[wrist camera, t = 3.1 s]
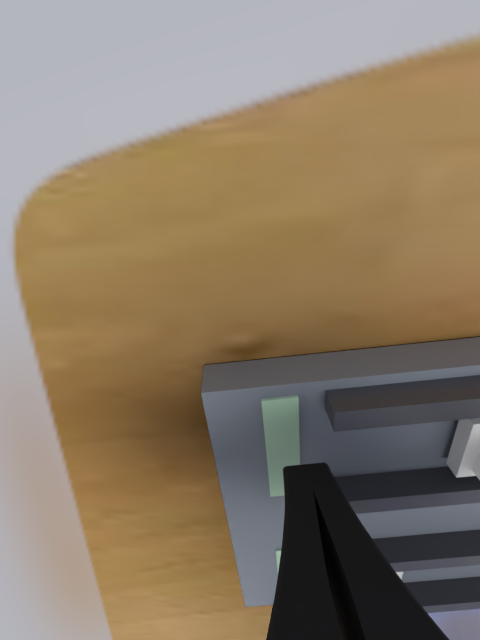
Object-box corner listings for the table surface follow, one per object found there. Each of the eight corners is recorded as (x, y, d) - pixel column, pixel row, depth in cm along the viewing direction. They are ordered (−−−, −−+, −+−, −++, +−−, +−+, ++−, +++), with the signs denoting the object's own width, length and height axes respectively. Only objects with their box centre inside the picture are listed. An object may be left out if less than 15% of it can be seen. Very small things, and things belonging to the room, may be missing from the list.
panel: (559, 547, 18) (605, 601, 16) (244, 574, 19) (246, 631, 16) (716, 312, 11) (836, 352, 9) (204, 365, 12) (198, 415, 9)
